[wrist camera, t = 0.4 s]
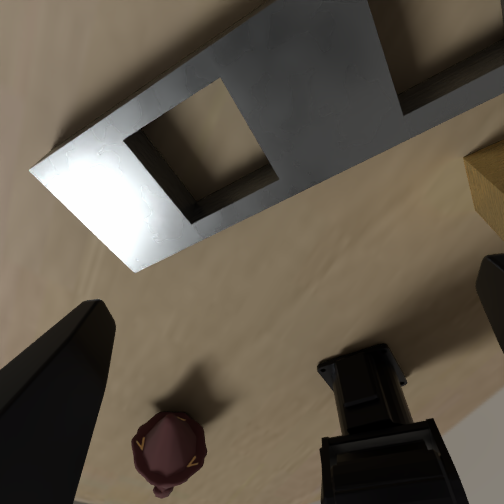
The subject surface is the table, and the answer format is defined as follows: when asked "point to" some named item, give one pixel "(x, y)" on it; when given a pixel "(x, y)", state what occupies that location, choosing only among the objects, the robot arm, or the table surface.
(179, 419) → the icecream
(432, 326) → the table surface
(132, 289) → the table surface
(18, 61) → the table surface
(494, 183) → the brass peg
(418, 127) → the rail
